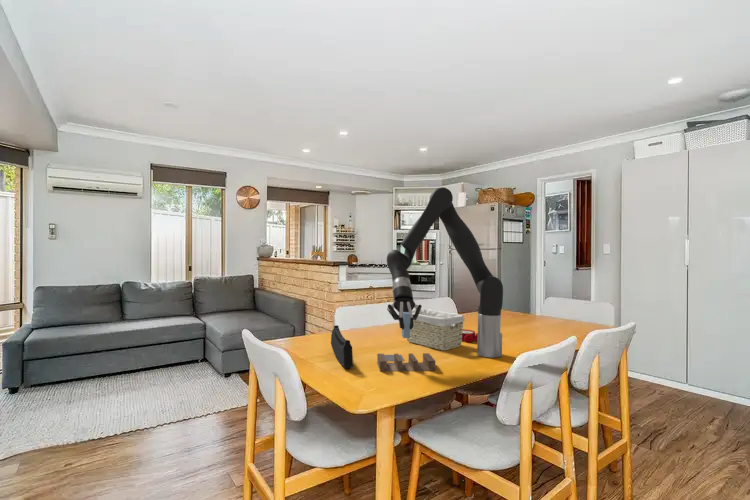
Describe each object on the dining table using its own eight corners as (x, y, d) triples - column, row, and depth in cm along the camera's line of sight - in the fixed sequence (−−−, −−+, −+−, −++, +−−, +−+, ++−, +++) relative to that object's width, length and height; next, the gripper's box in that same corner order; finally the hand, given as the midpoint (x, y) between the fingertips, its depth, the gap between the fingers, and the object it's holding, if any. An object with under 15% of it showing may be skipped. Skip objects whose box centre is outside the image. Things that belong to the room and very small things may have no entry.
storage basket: (465, 346, 178) (466, 314, 178) (443, 352, 167) (443, 318, 167) (425, 337, 196) (425, 307, 196) (402, 342, 185) (403, 311, 185)
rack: (428, 363, 151) (429, 353, 151) (435, 371, 141) (435, 360, 141) (377, 363, 149) (377, 353, 149) (380, 372, 140) (380, 361, 140)
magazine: (354, 347, 139) (340, 310, 166) (345, 348, 138) (332, 310, 165) (351, 388, 143) (337, 345, 171) (342, 389, 143) (330, 346, 170)
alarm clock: (464, 328, 201) (485, 327, 188) (466, 341, 200) (487, 341, 187) (448, 330, 196) (469, 329, 183) (450, 343, 195) (471, 343, 182)
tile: (408, 335, 147) (408, 311, 147) (409, 338, 144) (410, 313, 143) (401, 335, 147) (402, 311, 147) (403, 338, 143) (404, 313, 143)
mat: (401, 355, 162) (401, 354, 162) (404, 361, 153) (404, 360, 153) (376, 355, 161) (376, 354, 161) (379, 361, 152) (379, 361, 152)
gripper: (385, 284, 152) (389, 322, 140) (421, 285, 153) (427, 322, 141) (384, 296, 157) (387, 334, 145) (418, 297, 159) (424, 334, 147)
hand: (407, 328), depth 143 cm, fingers closed on tile, 2 cm apart
